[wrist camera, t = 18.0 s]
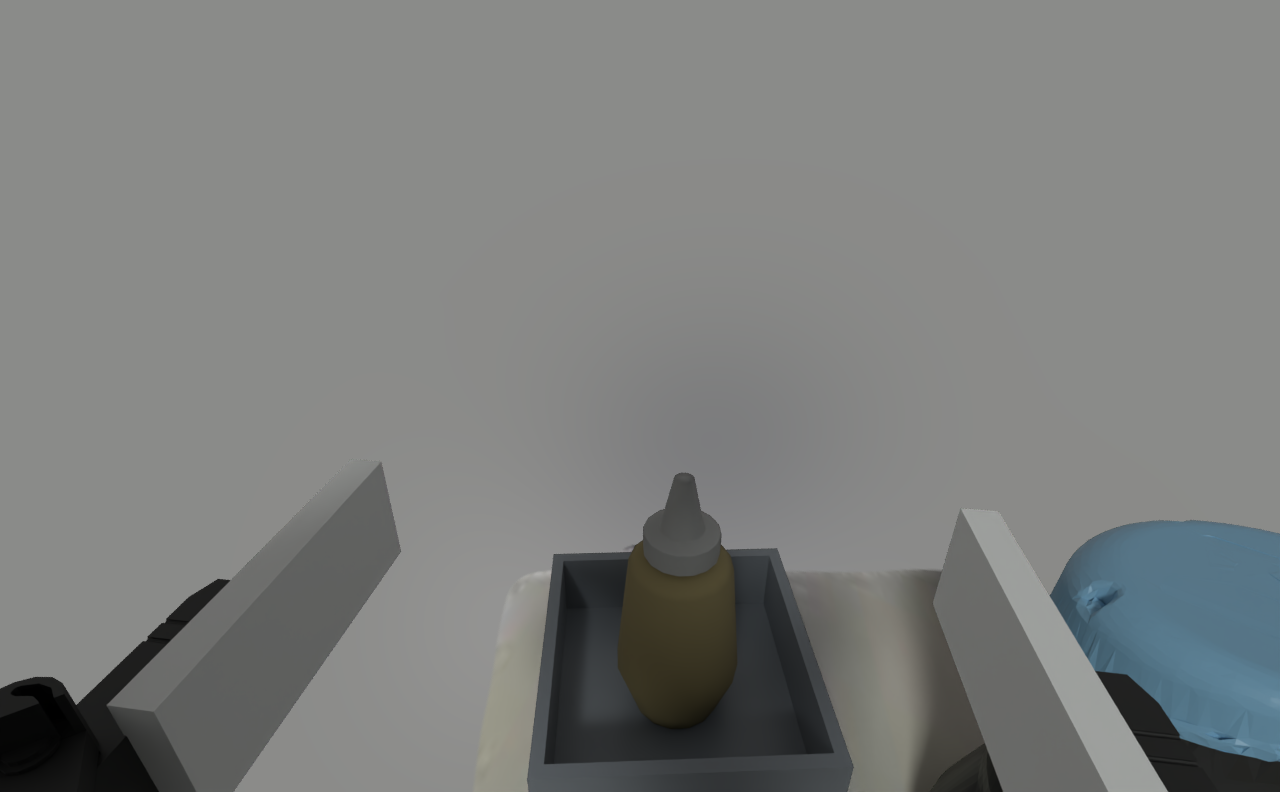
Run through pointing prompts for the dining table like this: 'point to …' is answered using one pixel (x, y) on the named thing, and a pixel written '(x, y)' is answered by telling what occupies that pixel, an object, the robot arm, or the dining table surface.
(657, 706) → the squeeze bottle
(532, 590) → the dining table surface
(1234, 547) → the robot arm
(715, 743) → the box
